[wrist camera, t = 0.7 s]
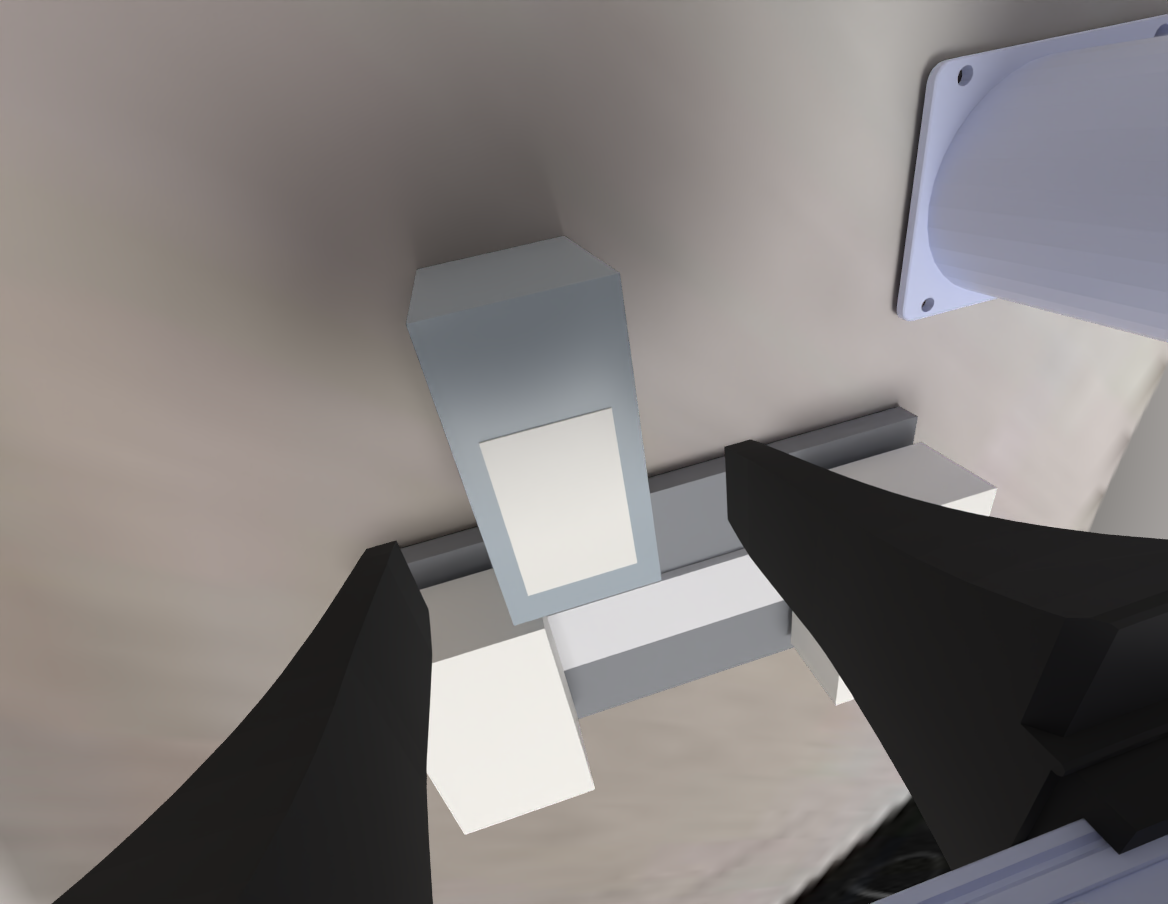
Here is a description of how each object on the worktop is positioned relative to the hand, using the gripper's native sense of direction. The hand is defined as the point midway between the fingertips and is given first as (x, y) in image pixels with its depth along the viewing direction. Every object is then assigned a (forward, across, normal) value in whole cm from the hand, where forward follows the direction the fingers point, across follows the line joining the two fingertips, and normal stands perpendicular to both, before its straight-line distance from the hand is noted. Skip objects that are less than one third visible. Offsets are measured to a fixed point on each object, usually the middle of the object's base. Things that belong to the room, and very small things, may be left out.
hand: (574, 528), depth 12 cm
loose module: (+8, 0, 0) cm, 8 cm away
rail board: (+8, -4, +11) cm, 14 cm away
